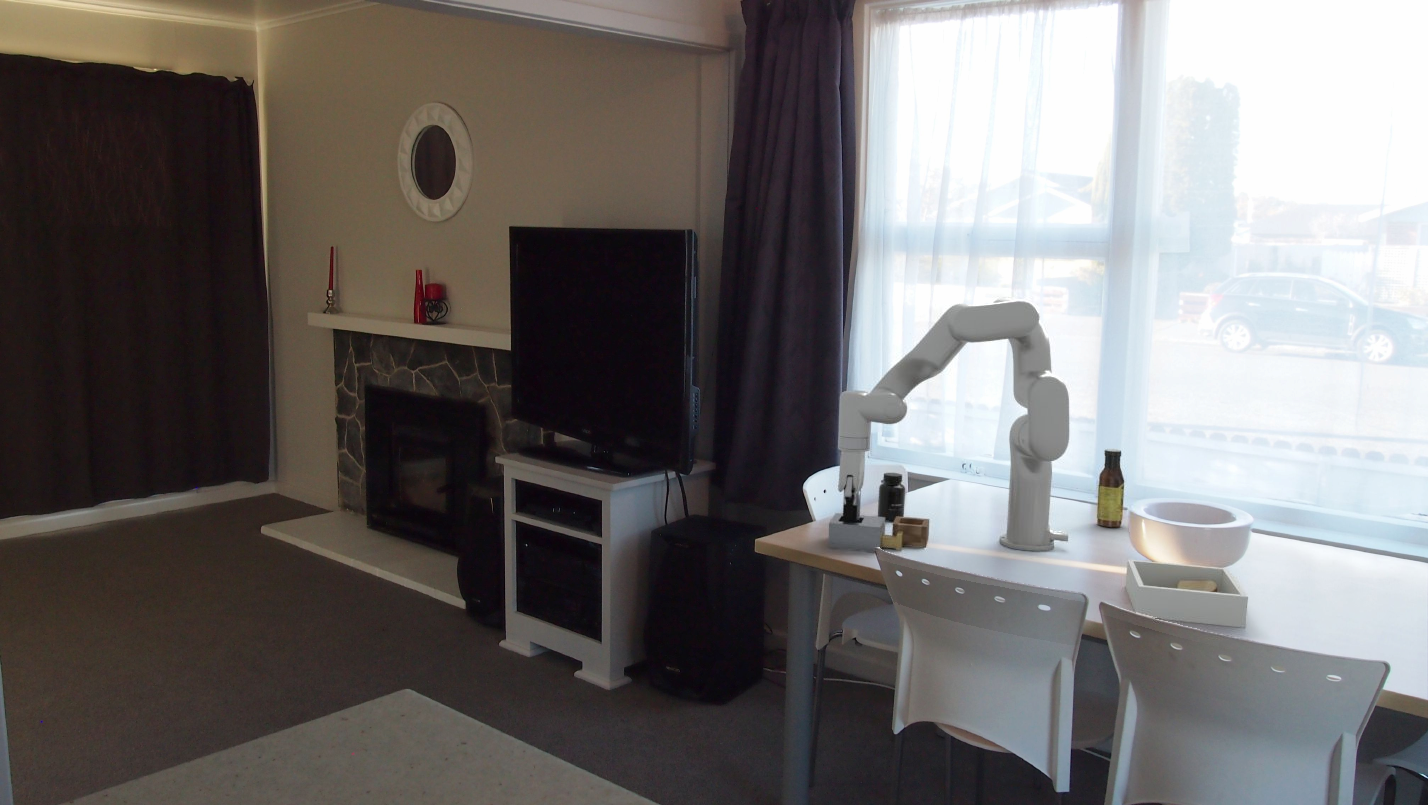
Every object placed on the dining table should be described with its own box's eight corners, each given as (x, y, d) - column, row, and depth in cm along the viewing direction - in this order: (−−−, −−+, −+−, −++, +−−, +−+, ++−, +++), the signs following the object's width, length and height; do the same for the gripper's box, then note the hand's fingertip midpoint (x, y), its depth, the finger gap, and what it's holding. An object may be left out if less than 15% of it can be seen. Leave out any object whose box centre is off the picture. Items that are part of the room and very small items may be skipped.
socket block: (884, 541, 246) (885, 517, 245) (879, 552, 236) (880, 527, 236) (835, 537, 249) (835, 513, 248) (828, 547, 240) (829, 522, 239)
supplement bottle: (896, 523, 263) (898, 478, 262) (872, 519, 267) (874, 474, 266) (908, 518, 269) (910, 474, 267) (885, 514, 273) (887, 470, 271)
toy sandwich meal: (1153, 590, 213) (1154, 568, 213) (1224, 603, 206) (1226, 580, 205) (1138, 605, 203) (1140, 582, 203) (1212, 620, 195) (1214, 596, 195)
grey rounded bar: (859, 542, 245) (862, 485, 243) (857, 547, 241) (859, 489, 239) (843, 541, 246) (845, 484, 244) (840, 545, 242) (842, 487, 240)
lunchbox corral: (1224, 596, 209) (1227, 568, 208) (1245, 627, 191) (1248, 597, 190) (1125, 587, 214) (1127, 559, 213) (1136, 616, 196) (1138, 586, 195)
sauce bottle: (1125, 528, 262) (1131, 452, 260) (1101, 528, 262) (1106, 452, 260) (1116, 522, 269) (1121, 448, 266) (1092, 521, 269) (1097, 447, 266)
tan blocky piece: (902, 546, 242) (903, 531, 241) (901, 550, 238) (901, 535, 238) (863, 542, 244) (864, 528, 244) (861, 546, 241) (862, 531, 240)
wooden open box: (928, 539, 249) (929, 519, 248) (925, 547, 241) (926, 527, 241) (895, 536, 251) (896, 516, 250) (891, 544, 243) (892, 524, 243)
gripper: (843, 436, 249) (841, 509, 251) (832, 448, 233) (829, 526, 235) (874, 438, 247) (871, 512, 249) (865, 450, 231) (862, 529, 233)
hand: (851, 518), depth 242 cm, fingers closed on grey rounded bar, 4 cm apart
